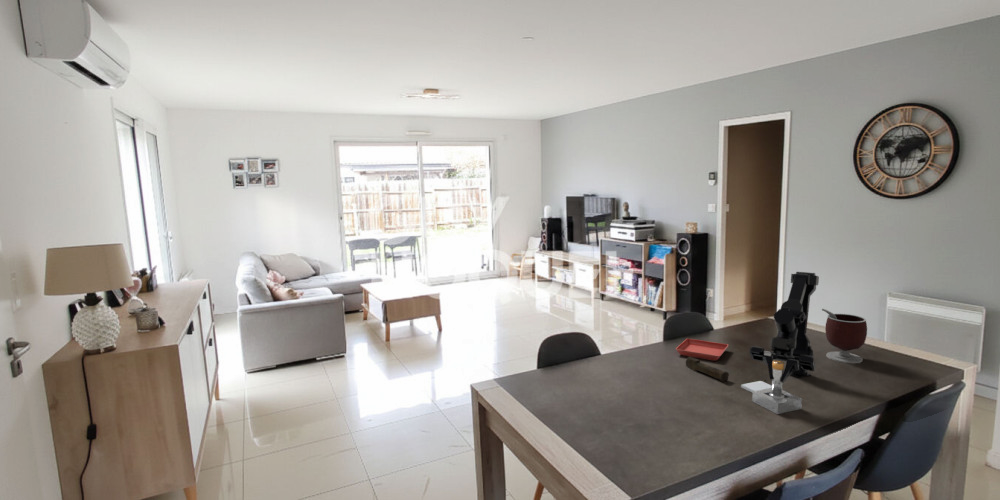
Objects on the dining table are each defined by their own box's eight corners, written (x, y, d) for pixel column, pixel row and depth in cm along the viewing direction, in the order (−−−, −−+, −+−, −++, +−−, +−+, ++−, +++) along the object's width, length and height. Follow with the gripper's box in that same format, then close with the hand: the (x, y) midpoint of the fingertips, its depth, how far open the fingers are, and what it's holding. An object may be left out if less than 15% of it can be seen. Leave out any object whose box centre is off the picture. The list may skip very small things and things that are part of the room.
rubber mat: (760, 383, 180) (760, 380, 180) (781, 392, 172) (781, 390, 172) (741, 387, 177) (741, 384, 177) (761, 397, 169) (761, 394, 169)
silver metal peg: (776, 396, 165) (777, 359, 163) (787, 401, 161) (789, 363, 159) (765, 398, 164) (767, 361, 162) (777, 403, 160) (778, 365, 158)
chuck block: (775, 396, 169) (775, 386, 168) (801, 408, 159) (801, 398, 159) (752, 401, 166) (752, 391, 165) (777, 414, 156) (777, 403, 156)
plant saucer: (686, 344, 226) (686, 337, 226) (729, 351, 216) (729, 344, 215) (674, 356, 212) (675, 348, 211) (719, 364, 201) (720, 356, 201)
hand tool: (729, 381, 183) (729, 369, 183) (721, 383, 182) (721, 371, 181) (691, 365, 201) (691, 354, 200) (683, 367, 199) (683, 356, 199)
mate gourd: (863, 355, 204) (866, 308, 202) (866, 366, 193) (869, 316, 190) (819, 349, 213) (821, 304, 210) (819, 360, 201) (822, 312, 199)
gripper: (751, 322, 168) (740, 363, 162) (815, 332, 156) (806, 376, 149) (757, 339, 175) (747, 378, 169) (818, 349, 163) (810, 392, 156)
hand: (776, 380), depth 160 cm, fingers closed on silver metal peg, 3 cm apart
